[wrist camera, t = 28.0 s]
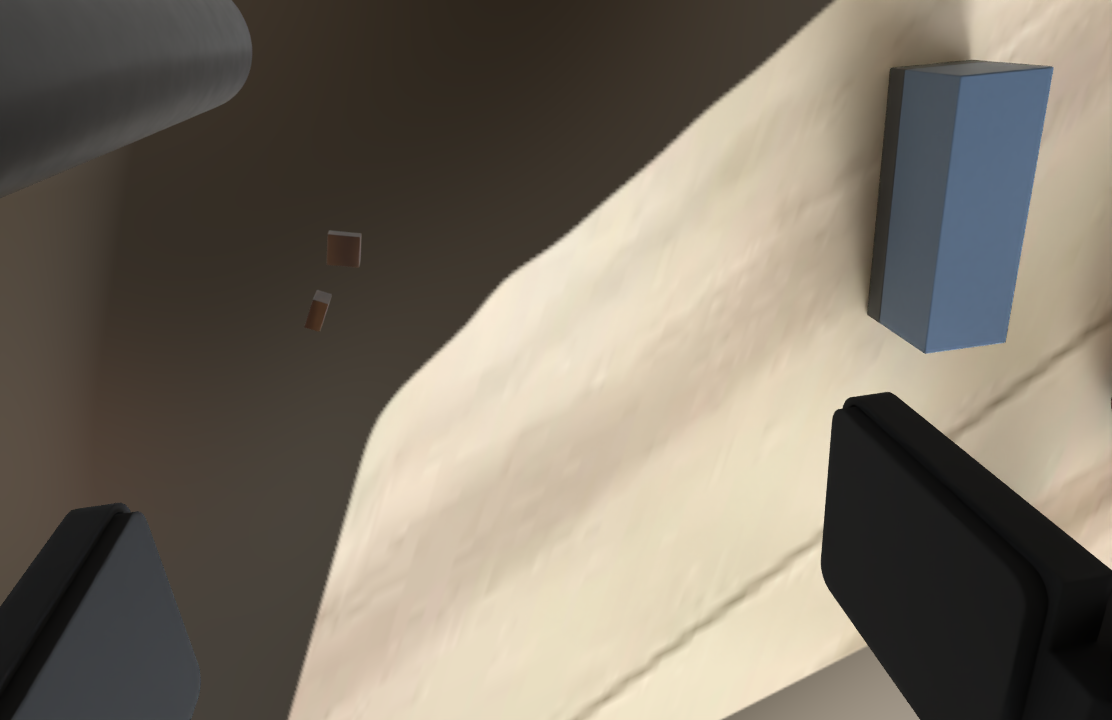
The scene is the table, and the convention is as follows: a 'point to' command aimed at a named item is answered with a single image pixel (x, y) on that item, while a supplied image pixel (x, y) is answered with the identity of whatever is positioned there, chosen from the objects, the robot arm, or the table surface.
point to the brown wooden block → (343, 248)
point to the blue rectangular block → (955, 199)
